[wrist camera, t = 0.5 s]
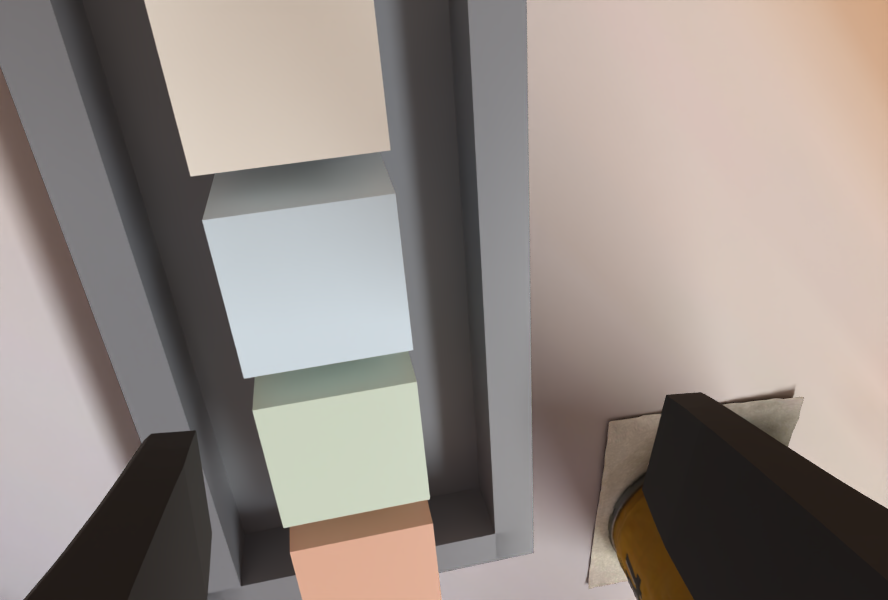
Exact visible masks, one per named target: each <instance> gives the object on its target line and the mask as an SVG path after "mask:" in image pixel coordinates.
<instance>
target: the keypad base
mask: <svg viewBox="0 0 888 600" xmlns="http://www.w3.org/2000/svg"><path fill="white" fill-rule="evenodd" d="M374 8H375V17H376V25H377V34H378V43H379V52H380V61H381V70H382V78H383V87H384V96H385V105H386V114H387V123H388V131H389V140H390V149H391V150H390V151H382V152H380V154H381V157H382V159H383V162H384V164H385V167H386V170H387V172H388V175H389V178H390V180H391V183H392V185H393V188H394V191H395V193H396V202H397V211H398V220H399V228H400V237H401V246H402V255H403V264H404V273H405V281H406V290H407V299H408V308H409V317H410V326H411V334H412V343H413V350H411V351H409V355H410V358H411V362H412V366H413V369H414V373H415V377H416V380H417V387H418V396H419V405H420V414H421V423H422V431H423V440H424V449H425V458H426V467H427V476H428V484H429V493H430V499H429V500H427V501H428V505H429V509H430V513H431V517H432V522H433V529H434V537H435V546H436V555H437V564H438V573H441V572H446V571H451V570H456V569H460V568H465V567H470V566H474V565H479V564H484V563H489V562H493V561H498V560H503V559H507V558H512V557H517V556H522V555H526V554H531V553H534V540H533V464H532V388H531V311H530V235H529V159H528V83H527V6H526V0H374ZM0 67H1V69H2V72H3V75H4V77H5V80H6V83H7V85H8V88H9V91H10V93H11V96H12V99H13V101H14V104H15V107H16V109H17V112H18V115H19V117H20V120H21V123H22V125H23V128H24V131H25V133H26V136H27V139H28V142H29V144H30V147H31V150H32V152H33V155H34V158H35V160H36V163H37V166H38V168H39V171H40V174H41V176H42V179H43V182H44V184H45V187H46V190H47V192H48V195H49V198H50V200H51V203H52V206H53V208H54V211H55V214H56V216H57V219H58V222H59V224H60V227H61V230H62V232H63V235H64V238H65V240H66V243H67V246H68V248H69V251H70V254H71V256H72V259H73V262H74V264H75V267H76V270H77V272H78V275H79V278H80V280H81V283H82V286H83V288H84V291H85V294H86V296H87V299H88V302H89V304H90V307H91V310H92V312H93V315H94V318H95V320H96V323H97V326H98V329H99V331H100V334H101V337H102V339H103V342H104V345H105V347H106V350H107V353H108V355H109V358H110V361H111V363H112V366H113V369H114V371H115V374H116V377H117V379H118V382H119V385H120V387H121V390H122V393H123V395H124V398H125V401H126V403H127V406H128V409H129V411H130V414H131V417H132V419H133V422H134V425H135V427H136V430H137V433H138V435H139V438H140V441H141V443H142V442H143V441H144V440H145V439H146V438H147V437H148V436H149V435H150V434H153V433H166V432H179V431H193V430H196V432H197V439H198V445H199V452H200V458H201V464H202V471H203V477H204V484H205V490H206V497H207V503H208V510H209V516H210V522H211V529H212V543H211V558H210V572H209V585H208V597H207V600H302V597H301V593H300V589H299V585H298V582H297V578H296V574H295V570H294V566H293V563H292V559H291V555H290V527H287V528H283V525H282V521H281V517H280V513H279V510H278V506H277V502H276V498H275V494H274V491H273V487H272V483H271V479H270V476H269V472H268V468H267V464H266V460H265V457H264V453H263V449H262V445H261V441H260V438H259V434H258V430H257V426H256V422H255V419H254V415H253V411H252V409H253V394H254V380H255V377H251V378H245V379H244V377H243V373H242V369H241V366H240V362H239V358H238V354H237V350H236V347H235V343H234V339H233V335H232V332H231V328H230V324H229V320H228V316H227V313H226V309H225V305H224V301H223V297H222V294H221V290H220V286H219V282H218V278H217V275H216V271H215V267H214V263H213V259H212V256H211V252H210V248H209V244H208V241H207V237H206V233H205V229H204V225H203V222H202V219H203V215H204V212H205V208H206V204H207V201H208V197H209V193H210V190H211V186H212V182H213V179H214V175H215V173H214V174H206V175H198V176H190V172H189V169H188V165H187V161H186V157H185V153H184V150H183V146H182V142H181V138H180V134H179V131H178V127H177V123H176V119H175V115H174V112H173V108H172V104H171V100H170V97H169V93H168V89H167V85H166V81H165V78H164V74H163V70H162V66H161V62H160V59H159V55H158V51H157V47H156V43H155V40H154V36H153V32H152V28H151V24H150V21H149V17H148V13H147V9H146V6H145V2H144V0H0Z"/></svg>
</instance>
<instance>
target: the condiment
mask: <svg viewBox="0 0 888 600" xmlns="http://www.w3.org/2000/svg"><path fill="white" fill-rule="evenodd" d="M803 399H804V397H796V398H788V399H779V398H774V399H769V400H758V401H750V402H745V403H729V404H723V405H724V406H725V407H727V408H728V409H730V410H732V411H733V412H735V413H736V414H738V415H739V416H741V417H743V418H744V419H746V420H747V421H749V422H750V423H752V424H753V425H755V426H756V427H758V428H759V429H761V430H763V431H764V432H766V433H767V434H769V435H770V436H772V437H773V438H775V439H776V440H778V441H779V442H781V443H782V444H784V445H785V446H787V447H788V444H789V441H790V438H791V435H792V432H793V430H794V428H795V426H796V423H797V421H798V419H799V414H800V410H801V406H802V403H803ZM660 417H661V414H651V415H643V416H641V417H637V418H630V419H624V420H616V421H609V428H608V440H607V446H606V450H605V465H604V470H603V477H602V487H601V492H600V499H599V504H598V509H597V515H596V522H595V532H594V539H593V547H592V553H591V565H590V571H589V589H591V588H594V587H598V586H604V585H610V584H616V583H618V582H625V581H628V582H629V584H630V586H631V588H632V590H633V592H634V595H635V597H636V599H637V600H694V599H693V597H692V595H691V594H690V592H689V590H688V588H687V586H686V585H685V583H684V581H683V579H682V577H681V576H680V574H679V572H678V570H677V568H676V567H675V565H674V563H673V561H672V559H671V558H670V556H669V554H668V552H667V550H666V548H665V546H664V544H663V541H662V539H661V537H660V534H659V532H658V530H657V527H656V525H655V522H654V520H653V517H652V515H651V512H650V509H649V507H648V504H647V502H646V499H645V496H644V494H643V491H642V487H643V483H644V480H645V476H646V472H647V468H648V463H649V460H650V456H651V452H652V448H653V445H654V441H655V437H656V433H657V429H658V425H659V421H660Z"/></svg>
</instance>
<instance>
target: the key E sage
mask: <svg viewBox="0 0 888 600" xmlns="http://www.w3.org/2000/svg"><path fill="white" fill-rule="evenodd" d="M252 411H253V415H254V419H255V422H256V426H257V430H258V434H259V438H260V441H261V445H262V449H263V453H264V457H265V460H266V464H267V468H268V472H269V476H270V479H271V483H272V487H273V491H274V494H275V498H276V502H277V506H278V510H279V513H280V517H281V521H282V525H283V528H287V527H292V526H297V525H302V524H307V523H312V522H317V521H322V520H327V519H333V518H338V517H343V516H348V515H353V514H358V513H363V512H368V511H373V510H378V509H383V508H388V507H393V506H398V505H403V504H408V503H414V502H419V501H424V500H429V499H430V493H429V484H428V476H427V467H426V458H425V449H424V440H423V431H422V423H421V414H420V405H419V396H418V387H417V380H416V377H415V373H414V369H413V366H412V362H411V358H410V355H409V351H405V352H399V353H393V354H387V355H382V356H376V357H370V358H364V359H358V360H352V361H346V362H340V363H334V364H328V365H322V366H316V367H310V368H305V369H299V370H293V371H287V372H281V373H275V374H269V375H263V376H257V377H255V380H254V394H253V409H252Z"/></svg>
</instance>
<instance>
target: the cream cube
mask: <svg viewBox="0 0 888 600" xmlns="http://www.w3.org/2000/svg"><path fill="white" fill-rule="evenodd" d="M144 2H145V6H146V9H147V13H148V17H149V21H150V24H151V28H152V32H153V36H154V40H155V43H156V47H157V51H158V55H159V59H160V62H161V66H162V70H163V74H164V78H165V81H166V85H167V89H168V93H169V97H170V100H171V104H172V108H173V112H174V115H175V119H176V123H177V127H178V131H179V134H180V138H181V142H182V146H183V150H184V153H185V157H186V161H187V165H188V169H189V172H190V176H198V175H206V174H214V173H221V172H229V171H237V170H244V169H252V168H260V167H267V166H275V165H282V164H290V163H298V162H305V161H313V160H321V159H328V158H336V157H344V156H351V155H359V154H367V153H374V152H382V151H390V150H391V149H390V140H389V131H388V123H387V114H386V105H385V96H384V87H383V78H382V70H381V61H380V52H379V43H378V34H377V25H376V17H375V8H374V0H144Z"/></svg>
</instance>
